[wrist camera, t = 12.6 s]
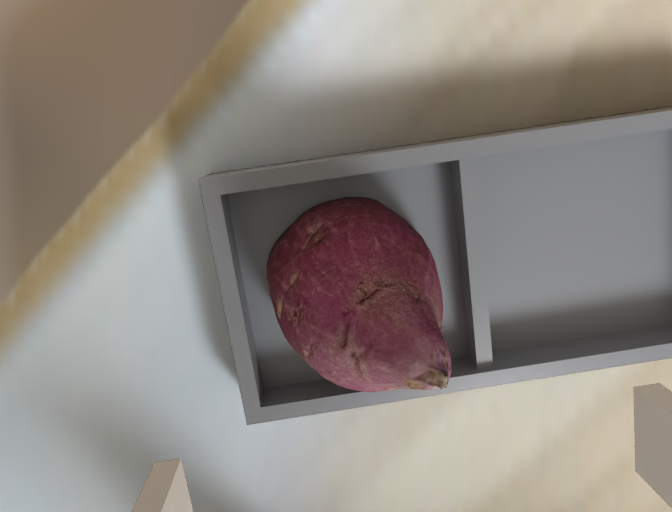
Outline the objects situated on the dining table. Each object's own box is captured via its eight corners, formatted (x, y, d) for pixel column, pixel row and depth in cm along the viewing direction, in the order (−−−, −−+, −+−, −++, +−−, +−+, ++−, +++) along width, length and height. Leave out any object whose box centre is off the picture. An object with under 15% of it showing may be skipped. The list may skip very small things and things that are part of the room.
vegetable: (432, 224, 38) (608, 270, 24) (379, 366, 38) (519, 492, 24) (291, 169, 34) (401, 185, 20) (234, 328, 34) (302, 454, 20)
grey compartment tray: (688, 329, 38) (726, 349, 35) (251, 397, 37) (247, 424, 34) (690, 103, 34) (733, 101, 31) (208, 174, 34) (198, 179, 30)
